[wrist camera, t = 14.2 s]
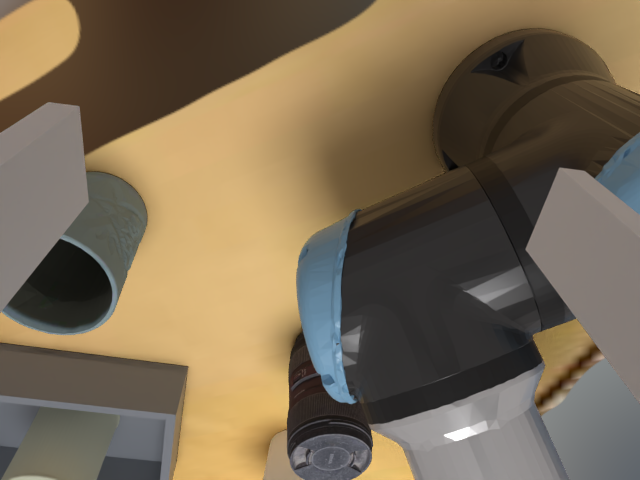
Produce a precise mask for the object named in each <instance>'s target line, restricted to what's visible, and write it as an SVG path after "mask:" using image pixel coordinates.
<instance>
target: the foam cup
mask: <svg viewBox="0 0 640 480" xmlns="http://www.w3.org/2000/svg"><path fill="white" fill-rule="evenodd" d="M263 480H304V479H302V478H300V477H299V476H297V475H296V474H295V473H294V472H293V470H292V468H291V466H290V460H289V458H288V455H287V430H284V431H282V432H279V433H277V434H276V435H275V436H274V437H273V438H272V439H271V443H270V446H269V452H268V457H267V462H266V467H265V472H264V477H263Z"/></svg>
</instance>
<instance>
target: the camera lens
mask: <svg viewBox="0 0 640 480" xmlns="http://www.w3.org/2000/svg"><path fill="white" fill-rule="evenodd" d="M372 447H373V441H372V435H371V429H370V427H369V425H368V422H367V419H366V416H365V414H364V411H363V408H362V406H361V403H360V401H358V402H356V403H353V404H349V403H341V402H338V401H337V400H335V399H333V398H332V397H331V396H330V395H329V394H328V392H327V391H326V389H325V388H324V386H323V383H322V379H321V375H320V374H318V373H317V372H316V370H315V368H314V365H313V363H312V360H311V357H310V354H309V351H308V348H307V344H306V341H305V337H304V333H303V332H302V333H301V334H300V335H299V336H298V338H297V339H296V342H295V346H294V347H293V349H292V351H291V356H290V363H289V411H288V418H287V455H288V458H289V460H290V466H291V468H292V470H293V472H294V473H295V474H296V475H297V476H299V477H300V478H302V479H304V480H351V479H353V478H356V477H358V476H359V475H361V474H362V473H363V472H364V471H365V470H366V469H367V468H368V466H369V464H370V462H371V460H372V453H371V452H372Z"/></svg>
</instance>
